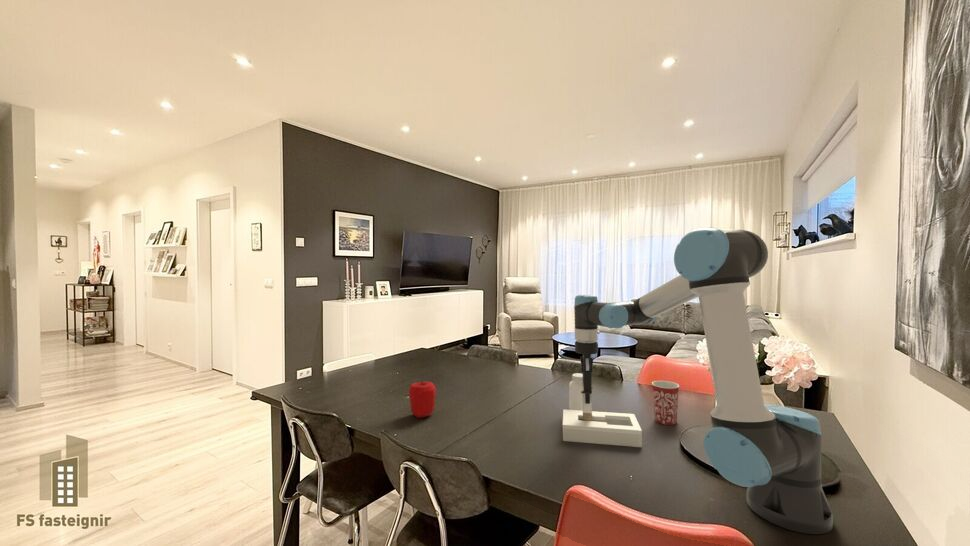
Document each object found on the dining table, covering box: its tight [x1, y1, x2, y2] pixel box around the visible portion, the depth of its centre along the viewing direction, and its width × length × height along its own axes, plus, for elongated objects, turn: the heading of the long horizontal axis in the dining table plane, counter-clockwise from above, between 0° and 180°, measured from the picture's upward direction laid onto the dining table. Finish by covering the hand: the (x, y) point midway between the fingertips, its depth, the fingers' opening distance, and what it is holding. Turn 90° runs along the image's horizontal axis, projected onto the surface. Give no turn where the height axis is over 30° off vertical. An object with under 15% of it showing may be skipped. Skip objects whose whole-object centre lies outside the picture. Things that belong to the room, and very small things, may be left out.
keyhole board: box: [562, 408, 643, 448], centre depth 127 cm, size 14×24×5 cm, turn 77°
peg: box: [582, 383, 592, 421], centre depth 128 cm, size 6×6×16 cm
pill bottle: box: [568, 372, 583, 411], centre depth 146 cm, size 8×8×15 cm
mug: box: [651, 380, 680, 426], centre depth 139 cm, size 13×9×14 cm
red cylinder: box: [408, 380, 437, 419], centre depth 146 cm, size 10×10×14 cm
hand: (587, 410), depth 128 cm, fingers closed on peg, 3 cm apart
